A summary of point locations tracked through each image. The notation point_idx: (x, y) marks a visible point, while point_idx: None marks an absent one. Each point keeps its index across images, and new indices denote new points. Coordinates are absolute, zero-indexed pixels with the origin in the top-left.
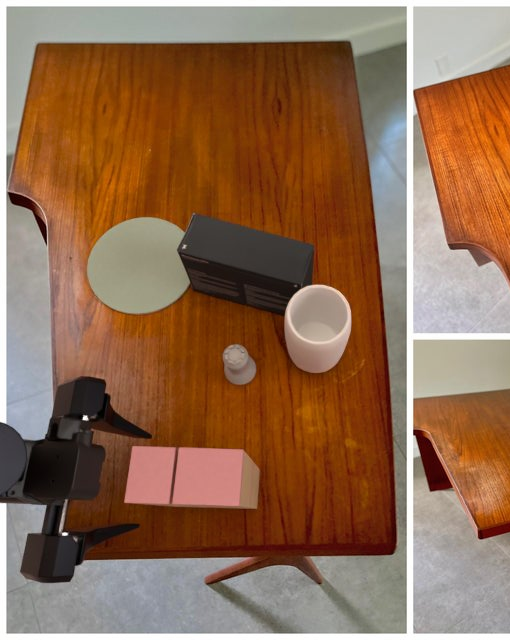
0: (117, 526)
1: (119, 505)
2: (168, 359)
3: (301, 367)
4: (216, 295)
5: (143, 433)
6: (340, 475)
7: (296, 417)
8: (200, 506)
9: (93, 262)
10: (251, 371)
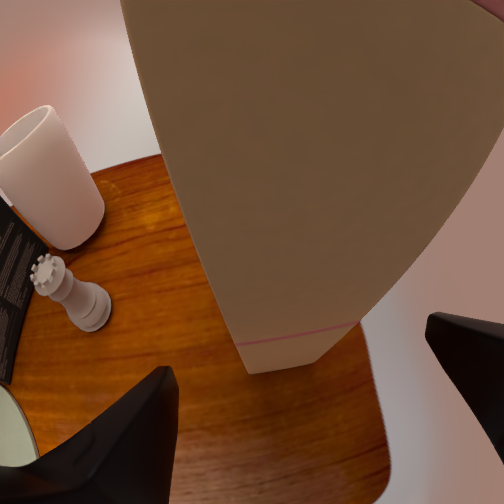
0: (486, 333)
1: (331, 451)
2: (84, 420)
3: (92, 219)
4: (11, 350)
5: (148, 384)
6: None
7: (157, 227)
8: None
9: None
10: (90, 283)
